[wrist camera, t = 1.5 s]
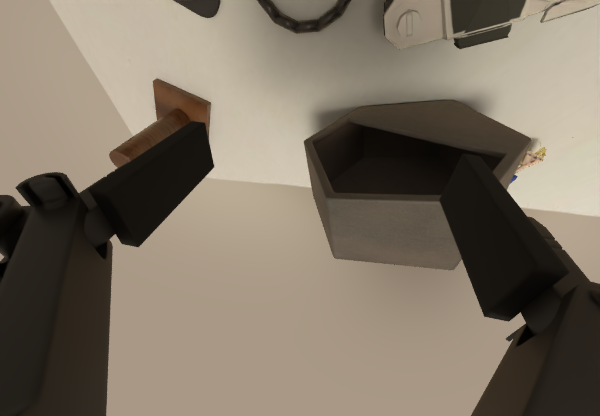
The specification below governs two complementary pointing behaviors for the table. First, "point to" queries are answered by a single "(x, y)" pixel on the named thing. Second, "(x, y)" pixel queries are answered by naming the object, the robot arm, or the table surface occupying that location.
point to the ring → (304, 25)
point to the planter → (401, 178)
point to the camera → (466, 19)
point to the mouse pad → (201, 6)
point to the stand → (164, 121)
